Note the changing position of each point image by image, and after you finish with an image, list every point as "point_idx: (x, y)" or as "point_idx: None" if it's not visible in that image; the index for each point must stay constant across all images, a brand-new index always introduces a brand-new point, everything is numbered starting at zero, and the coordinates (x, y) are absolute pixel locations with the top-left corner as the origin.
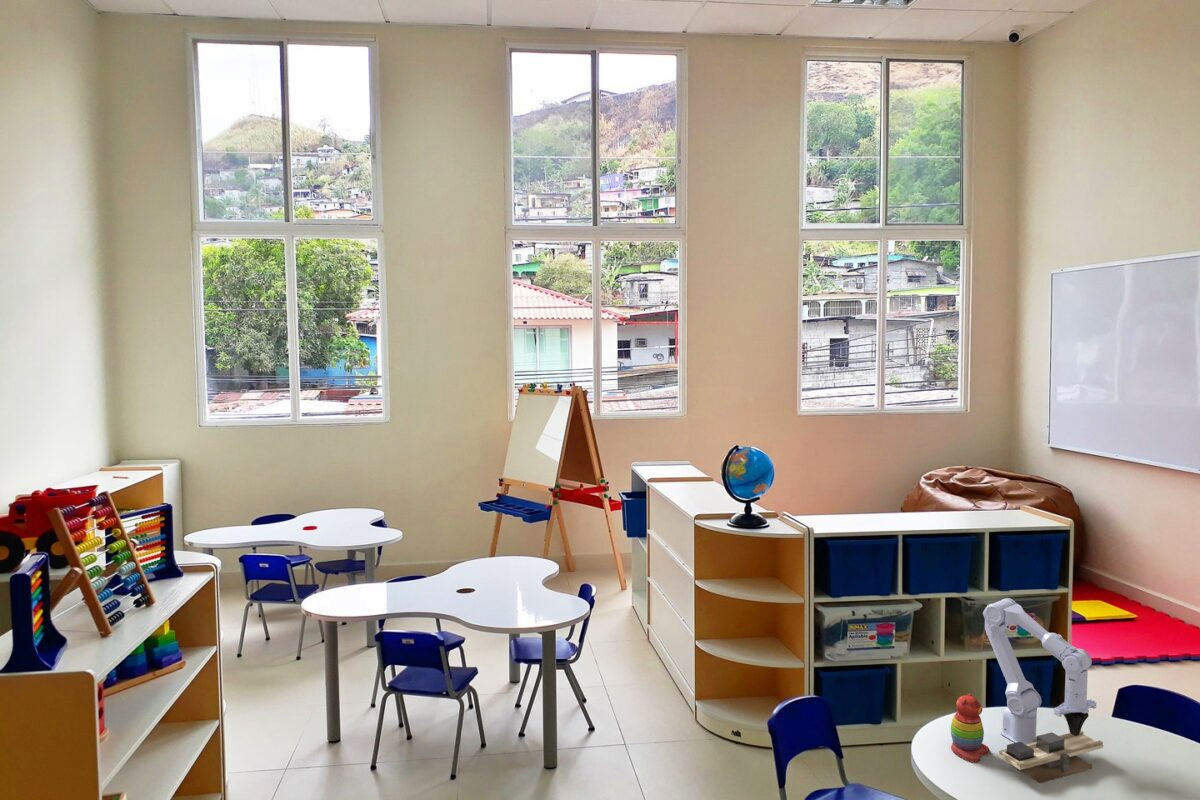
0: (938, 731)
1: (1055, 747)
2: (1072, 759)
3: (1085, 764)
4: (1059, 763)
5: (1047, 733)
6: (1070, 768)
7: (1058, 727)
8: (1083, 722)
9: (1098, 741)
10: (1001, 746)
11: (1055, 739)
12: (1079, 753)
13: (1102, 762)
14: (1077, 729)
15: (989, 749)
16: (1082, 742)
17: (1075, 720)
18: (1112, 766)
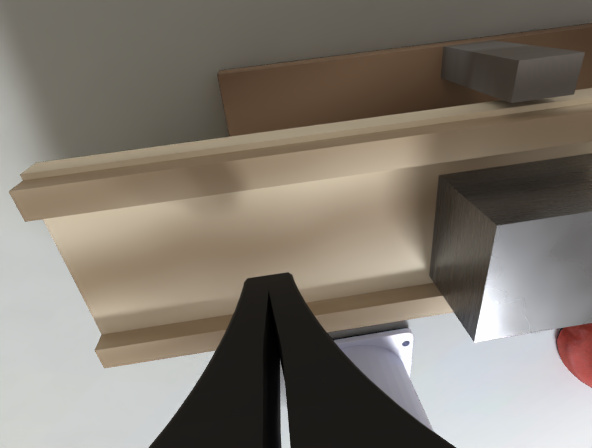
0: (574, 441)
1: (565, 180)
2: None
3: (262, 92)
4: None
5: (531, 331)
6: (404, 75)
7: (119, 429)
8: (202, 397)
9: (51, 207)
10: (480, 347)
11: (581, 237)
12: (323, 125)
13: (89, 122)
14: (294, 316)
15: (582, 329)
16: (193, 244)
17: (430, 435)
18: (44, 55)
